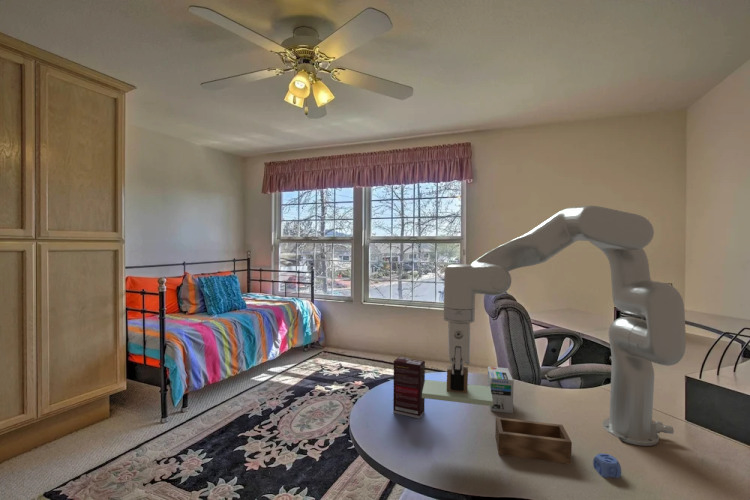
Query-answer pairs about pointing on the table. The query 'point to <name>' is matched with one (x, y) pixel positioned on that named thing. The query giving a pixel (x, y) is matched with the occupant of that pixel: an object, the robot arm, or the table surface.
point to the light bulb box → (501, 389)
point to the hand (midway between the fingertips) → (457, 386)
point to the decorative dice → (607, 465)
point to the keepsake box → (533, 440)
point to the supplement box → (409, 387)
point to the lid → (468, 395)
